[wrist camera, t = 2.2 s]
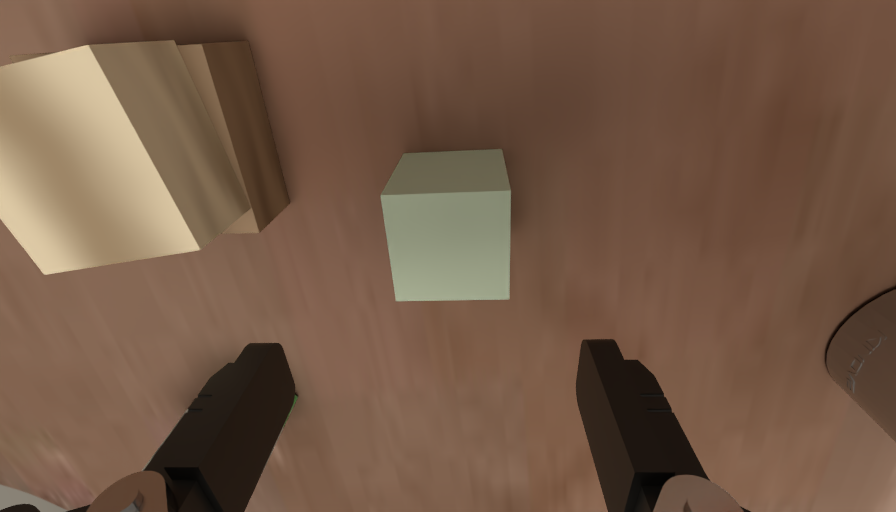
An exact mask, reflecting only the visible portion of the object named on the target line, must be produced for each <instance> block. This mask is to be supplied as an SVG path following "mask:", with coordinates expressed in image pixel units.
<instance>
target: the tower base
mask: <svg viewBox="0 0 896 512" xmlns="http://www.w3.org/2000/svg"><path fill="white" fill-rule="evenodd" d="M176 46H177V48H178V50H179V52H180V54H181V57H182V59H183V61H184V63H185V65H186V68H187V70H188V72H189V74H190V76H191V78H192V81H193V83H194V85H195V87H196V89H197V92H198V94H199V96H200V98H201V100H202V103H203V105H204V107H205V109H206V111H207V113H208V116H209V118H210V120H211V122H212V124H213V127H214V129H215V131H216V133H217V135H218V138H219V140H220V142H221V144H222V146H223V149H224V151H225V153H226V155H227V157H228V159H229V162H230V164H231V166H232V168H233V170H234V173H235V175H236V177H237V179H238V181H239V184H240V186H241V188H242V190H243V192H244V194H245V197H246V199H247V201H248V203H249V205H250V208H251V209H250V210H248V211H247V212H246V213H245V214H244V215H242V216H241V217H240V218H239V219H237V220H236V221H235V222H234V223H233V224H231V225H230V226H229V227H228V228H227V229H225V230H224V231H223V232H222V233H221V234H235V233H260V232H261V231H262V230H263V229H264V228H265V227H266V226H267V225H268V224H269V223H270V222H271V221H272V220H273V219H274V218H275V217H276V216H277V215H278V214H279V213H280V212H281V211H282V210H283V209H285V208H286V207H287V206H288V205H289V204H290V201H289V197H288V194H287V190H286V186H285V182H284V178H283V174H282V170H281V166H280V162H279V158H278V155H277V151H276V147H275V143H274V139H273V135H272V131H271V127H270V123H269V119H268V116H267V112H266V108H265V104H264V100H263V96H262V92H261V88H260V84H259V80H258V77H257V73H256V69H255V65H254V61H253V57H252V53H251V49H250V45H249V42H248V41H234V42H217V43H200V44H183V45H176ZM54 53H57V52H54ZM49 54H53V53H40V54H26V55H11V56H9V57H10V59H11V61H12V63H17V62H21V61H25V60H29V59H33V58H37V57H41V56H45V55H49Z"/></svg>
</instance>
